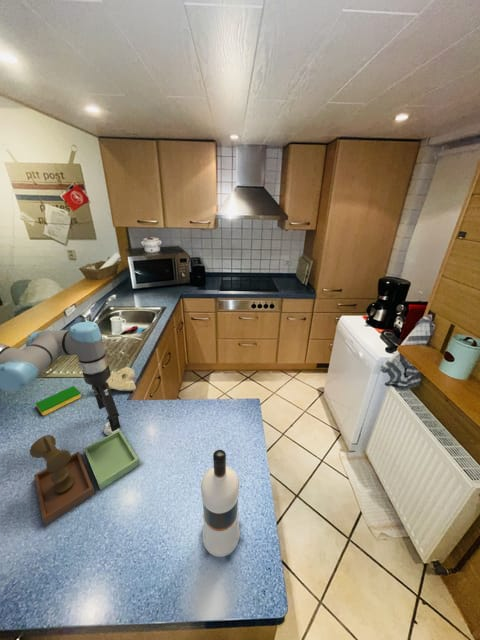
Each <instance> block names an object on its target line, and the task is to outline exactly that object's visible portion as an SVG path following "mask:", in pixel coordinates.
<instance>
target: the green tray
mask: <svg viewBox="0 0 480 640" xmlns="http://www.w3.org/2000/svg"><path fill="white" fill-rule="evenodd" d="M83 451H84V454H85V456H86V459H87V461H88V464H89V466H90V468H91V471H92V473H93V476H94V478H95V480H96V483H97V485H98V488H99V491H100V490H101V491H102V490H103V489H105V488H107V486H109V485H110V484H112V483H114V482H115V481H117V480H119V478H122V477H123V476H124V475H126V474H128V473H129V472H130V471H132V470H134V469H136V468H137V467H138V466H140V464H141V463H140V461H139V458H138V456H137V454H136V453H135V451H134V449H133V448H132V446H131V445H130V443H129V442H128V440H127V437H126V436H125V434H124V433H123V431H122V430H121V429H119V430H118V431H116V432H114V433H112V434H110V435H107V436H105V437H103V438H101V439H99V440H97V441H95V442H94V443H92V444H90V445H88V446H86V447H84V448H83Z"/></svg>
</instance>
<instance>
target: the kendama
mask: <svg viewBox="0 0 480 640" xmlns="http://www.w3.org/2000/svg"><path fill="white" fill-rule="evenodd" d="M56 445H57V441H56V437H54V435H51V434H48V435H43V436H42V437H40V438H38V439H36V440H35V441H34V442H33V444H31V446H30V449H29V455H30V457H32V458H33V459H41V458H42V459H43V460H44V461H45V469H46V468H47V470H48V472H50V473H53V475H52V476H51V481H52V482H53V483H55V484H54V488H53V489H54V491H55V492H56V493H57V494H61V493H64V492H66V491H67V490H69V489H70V488H71V487H72V486H73V484H74V481H75V479H74V477H73V476H71V475H69V472H70V471H69V469H67V468H64V467H65V466H66V465H67V463H68V462H69V461H70V458H71V455H72V454H71V452H70V451H69V450H66V449H59V448H57V446H56Z"/></svg>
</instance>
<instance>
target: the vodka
mask: <svg viewBox="0 0 480 640" xmlns="http://www.w3.org/2000/svg"><path fill="white" fill-rule="evenodd" d="M212 459H213V461H212V462H213V466H212V467H210V468H209V469H207V470H206V472H205V473H204V475H203V477H202V479H201V482H200V493H201V501H202V521H203V525H202V542H203V546H204V548H205V549H206V551H207V552H208V553H209V554H210V555H212V556H213V557H217V558H222V557H226V556H229V555H230V554H231V553H233V551H234V550H235V549H236V547H237V546H238V543H239V540H240V536H241V533H240V524H239V520H238V519H239V514H240V513H239V512H240V511H239V496H240V480H239V476H238V475H237V473H236V472H235V470H234V469H233V468H231V466H228V465H227V463H226V462H227V454H226V451H224V450H223V449H216V450H215V451H214V452H213V455H212Z"/></svg>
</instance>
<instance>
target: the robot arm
mask: <svg viewBox="0 0 480 640" xmlns="http://www.w3.org/2000/svg"><path fill="white" fill-rule="evenodd" d="M74 355H76V356H77V360H78V362H79V363H78V364H77V368H80V369H81V371H82V376H83V380H84V382H85V384H87V385H90V386H91V389H92V390H93V394H94V397H95V400H96V404H97V407H98V409H99V410H102V409H104V408H105V411H106V414H107V417H106V420H108V422H109V423H110V427H111V430H112V432H113V431H115V430H117V429H119V430H120V429H121V423H120V420H119V417H120V413H119V410H118V408H117V406H116V403H115V400H114V398H113V395H112V391H111V390H112V389H110V388H109V385H108V382H106V381H107V380H108V379H109V378H110V376H111V373H112V372H111V369H110V365H109V360H108V356H107V352H106V350H105V345H104V342H103V334H102V333H101V329H100V327H99V325H98V323H97V322H95V321H90V320H86V321H79V322H75V324H73V325H71V326H70V327H69V329H67V330H66V329H64V330H63V329H60V330H59V329H56V330H55V329H53V330H51V329H45V330H37V331H33V332H31V333H30V334H29V335H28V338H27V339H26V341H25V346H24V347H23V348H22V349H19V348H16V347H14V346H10V345H7V344H4V343H1V342H0V390H1V391H5V392H13V393H14V392H19V391H21V390H24V389H26V387H27V386H29V385H30V384H31V383H32V382H34V381H35V380H37V378H38V377H39V376H40V375H41V374H42V373H43V372H44V371H45V370H46V369H47V368H48V367H49V366H51V364H53V363H54V362H55V361H56V360H57V359H58V358H59V357H61V356H74Z"/></svg>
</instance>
